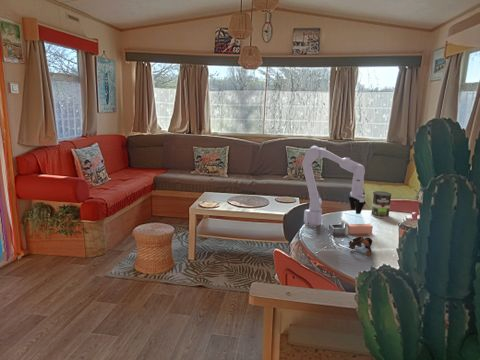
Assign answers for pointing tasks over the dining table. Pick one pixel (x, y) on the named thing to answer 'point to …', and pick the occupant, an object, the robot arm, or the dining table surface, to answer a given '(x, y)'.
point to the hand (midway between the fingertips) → (355, 211)
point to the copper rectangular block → (360, 228)
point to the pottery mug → (359, 241)
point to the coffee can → (381, 204)
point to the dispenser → (342, 229)
